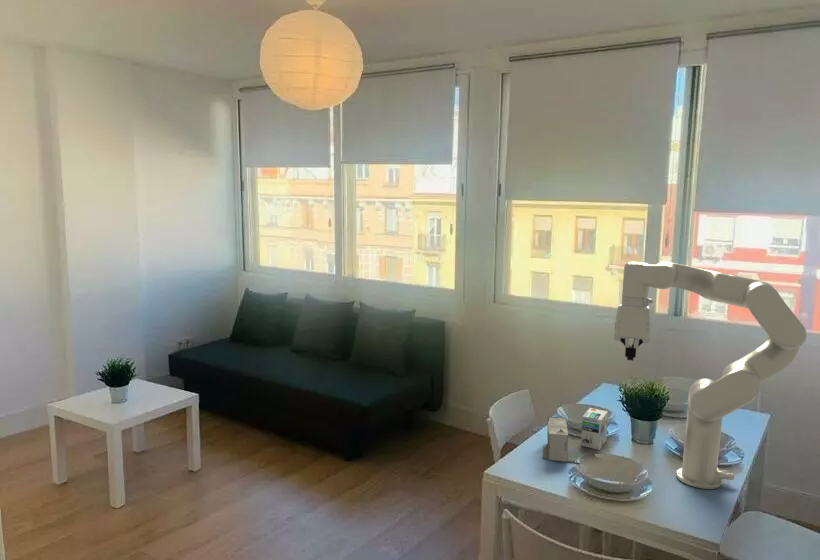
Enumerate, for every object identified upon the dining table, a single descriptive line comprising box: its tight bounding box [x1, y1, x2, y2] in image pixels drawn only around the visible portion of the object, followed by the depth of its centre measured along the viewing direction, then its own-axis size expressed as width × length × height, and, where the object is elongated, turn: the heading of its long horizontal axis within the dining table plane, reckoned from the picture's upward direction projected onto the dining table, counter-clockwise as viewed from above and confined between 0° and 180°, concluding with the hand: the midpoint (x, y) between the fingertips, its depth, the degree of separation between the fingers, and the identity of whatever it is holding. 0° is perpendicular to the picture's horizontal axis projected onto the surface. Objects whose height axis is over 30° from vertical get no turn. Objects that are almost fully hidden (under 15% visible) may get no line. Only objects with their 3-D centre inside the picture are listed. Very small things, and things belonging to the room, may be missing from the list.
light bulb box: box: [580, 407, 609, 451], centre depth 212 cm, size 11×7×11 cm, turn 150°
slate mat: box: [541, 446, 581, 464], centre depth 202 cm, size 12×9×1 cm
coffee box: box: [546, 416, 569, 462], centre depth 203 cm, size 9×6×16 cm
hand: (630, 359), depth 191 cm, fingers closed
